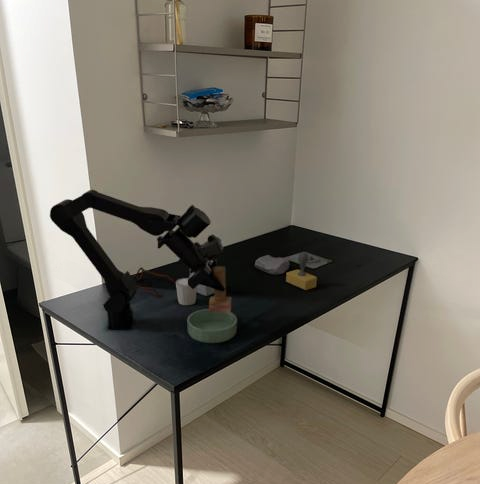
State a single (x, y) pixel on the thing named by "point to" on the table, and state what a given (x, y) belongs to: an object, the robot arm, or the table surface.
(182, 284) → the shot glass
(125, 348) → the table surface
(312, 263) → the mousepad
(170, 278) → the glasses
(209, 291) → the medicine box
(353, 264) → the table surface
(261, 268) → the stone block
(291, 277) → the rubber stamp
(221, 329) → the bowl
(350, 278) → the table surface
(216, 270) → the brown stepped block
